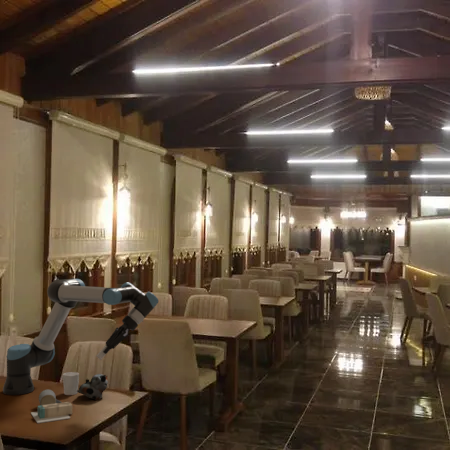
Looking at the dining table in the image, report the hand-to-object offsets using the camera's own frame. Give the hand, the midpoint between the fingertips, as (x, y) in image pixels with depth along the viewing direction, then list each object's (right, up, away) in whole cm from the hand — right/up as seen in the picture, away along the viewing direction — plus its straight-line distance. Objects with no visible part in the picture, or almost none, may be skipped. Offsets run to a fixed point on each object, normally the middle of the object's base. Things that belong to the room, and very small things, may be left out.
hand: (98, 357), depth 267 cm
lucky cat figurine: (-7, -24, +19) cm, 32 cm away
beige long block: (-11, -21, -7) cm, 25 cm away
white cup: (-20, -24, +26) cm, 41 cm away
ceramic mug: (-23, -24, +2) cm, 33 cm away
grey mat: (-19, -23, -11) cm, 32 cm away
